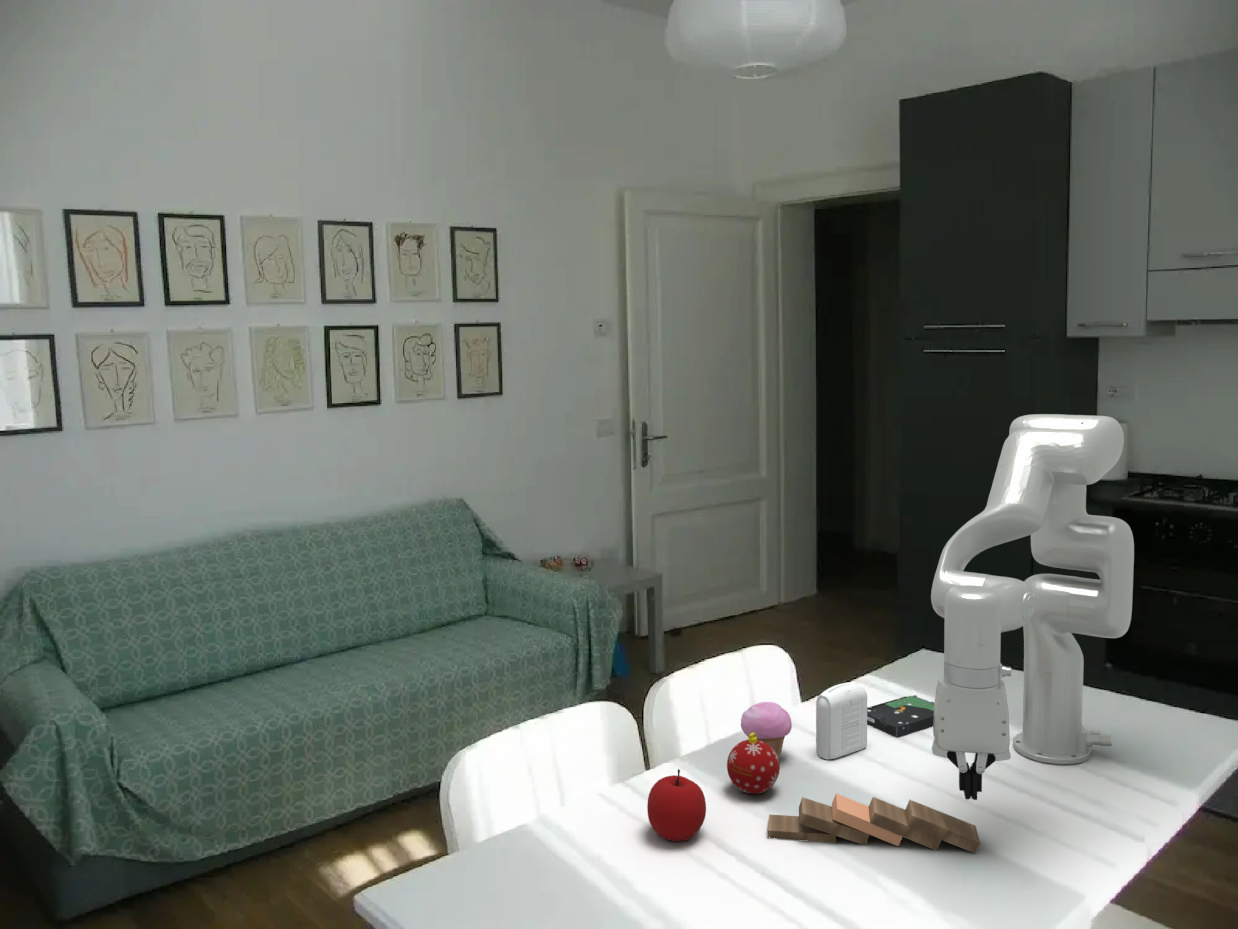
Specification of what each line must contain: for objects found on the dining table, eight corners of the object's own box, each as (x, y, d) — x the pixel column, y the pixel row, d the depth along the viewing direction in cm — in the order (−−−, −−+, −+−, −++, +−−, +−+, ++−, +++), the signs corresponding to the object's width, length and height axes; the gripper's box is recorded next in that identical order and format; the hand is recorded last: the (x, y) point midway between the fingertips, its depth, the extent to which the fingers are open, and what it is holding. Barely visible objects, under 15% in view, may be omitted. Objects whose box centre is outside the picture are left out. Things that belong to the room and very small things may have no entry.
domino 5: (975, 825, 146) (909, 799, 148) (980, 842, 141) (912, 815, 143) (970, 836, 147) (905, 810, 148) (975, 853, 142) (907, 826, 143)
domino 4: (937, 823, 147) (872, 796, 149) (941, 840, 143) (874, 812, 144) (933, 833, 148) (868, 807, 149) (936, 850, 143) (870, 823, 144)
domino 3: (899, 819, 149) (836, 793, 150) (903, 835, 144) (837, 809, 145) (895, 829, 149) (831, 803, 150) (898, 846, 144) (832, 819, 146)
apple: (637, 827, 153) (635, 765, 151) (689, 814, 156) (688, 754, 155) (663, 855, 144) (661, 790, 143) (718, 841, 148) (716, 777, 146)
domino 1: (835, 818, 151) (769, 814, 153) (836, 835, 146) (767, 830, 148) (835, 829, 151) (769, 825, 153) (836, 846, 146) (767, 841, 148)
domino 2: (866, 818, 150) (802, 797, 151) (869, 834, 145) (802, 813, 146) (863, 828, 150) (798, 807, 151) (865, 845, 145) (799, 824, 146)
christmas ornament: (716, 789, 164) (715, 732, 163) (754, 774, 169) (753, 718, 168) (752, 808, 157) (752, 748, 156) (790, 792, 162) (790, 734, 161)
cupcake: (790, 748, 179) (789, 695, 178) (793, 769, 171) (793, 713, 170) (740, 748, 180) (739, 695, 179) (741, 768, 172) (740, 713, 170)
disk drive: (897, 742, 182) (953, 722, 190) (897, 727, 182) (953, 708, 189) (857, 723, 191) (912, 706, 199) (857, 709, 191) (912, 692, 198)
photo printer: (853, 740, 182) (852, 675, 180) (870, 748, 178) (870, 682, 177) (812, 755, 176) (811, 688, 175) (829, 763, 173) (829, 695, 171)
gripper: (1023, 667, 143) (1021, 787, 145) (915, 662, 146) (914, 780, 149) (1032, 685, 135) (1029, 812, 138) (918, 679, 139) (917, 803, 141)
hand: (970, 795), depth 143 cm, fingers closed
